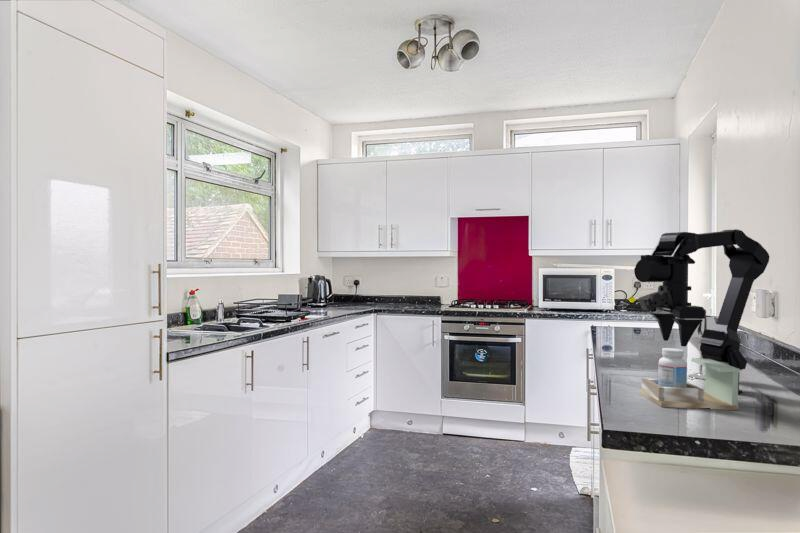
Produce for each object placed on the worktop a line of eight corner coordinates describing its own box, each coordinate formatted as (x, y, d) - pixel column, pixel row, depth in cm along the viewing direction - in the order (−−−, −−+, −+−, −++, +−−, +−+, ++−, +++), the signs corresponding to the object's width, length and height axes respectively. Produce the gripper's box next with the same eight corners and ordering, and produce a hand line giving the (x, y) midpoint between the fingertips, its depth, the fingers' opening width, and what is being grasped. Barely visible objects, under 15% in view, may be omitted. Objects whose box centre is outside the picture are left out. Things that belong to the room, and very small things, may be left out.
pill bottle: (681, 394, 130) (682, 348, 130) (689, 400, 124) (691, 352, 124) (654, 392, 131) (656, 346, 131) (661, 398, 125) (663, 350, 125)
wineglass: (686, 378, 154) (688, 316, 153) (683, 373, 161) (685, 313, 161) (719, 381, 151) (721, 318, 150) (714, 376, 158) (716, 315, 158)
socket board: (708, 395, 133) (709, 379, 133) (738, 410, 120) (739, 392, 120) (639, 392, 134) (639, 377, 134) (661, 406, 121) (661, 389, 121)
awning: (708, 395, 133) (709, 358, 133) (738, 410, 120) (739, 369, 120) (690, 395, 133) (691, 358, 133) (718, 409, 120) (719, 368, 120)
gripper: (628, 280, 144) (627, 337, 144) (659, 283, 125) (659, 349, 126) (669, 280, 144) (669, 338, 144) (707, 283, 125) (706, 349, 125)
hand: (674, 343), depth 135 cm, fingers open, 9 cm apart
